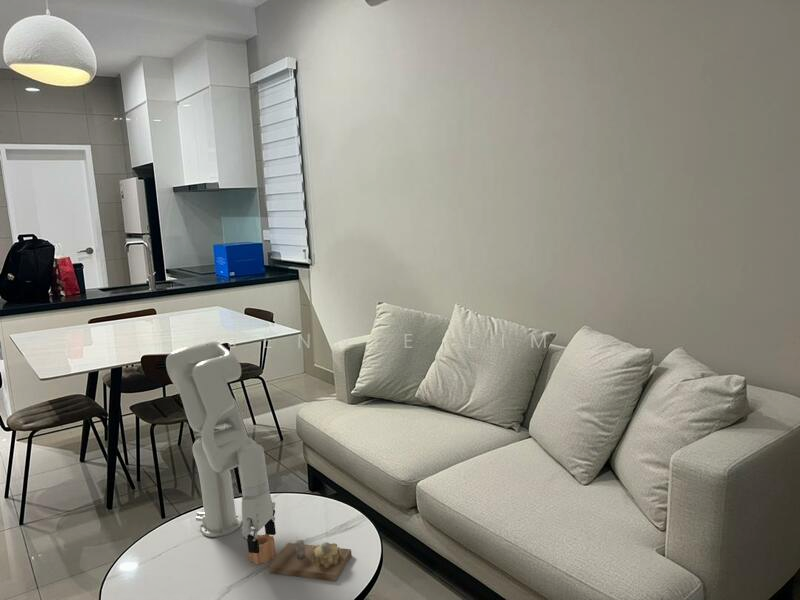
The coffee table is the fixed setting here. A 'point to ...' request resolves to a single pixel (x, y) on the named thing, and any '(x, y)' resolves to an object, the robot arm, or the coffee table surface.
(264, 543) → the loose gear
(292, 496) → the coffee table surface
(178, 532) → the coffee table surface
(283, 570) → the gear board
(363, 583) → the coffee table surface
